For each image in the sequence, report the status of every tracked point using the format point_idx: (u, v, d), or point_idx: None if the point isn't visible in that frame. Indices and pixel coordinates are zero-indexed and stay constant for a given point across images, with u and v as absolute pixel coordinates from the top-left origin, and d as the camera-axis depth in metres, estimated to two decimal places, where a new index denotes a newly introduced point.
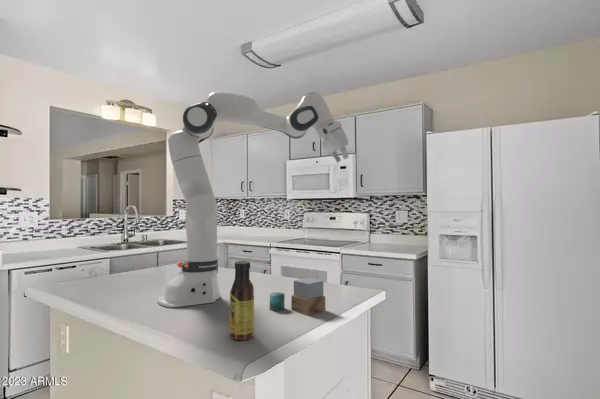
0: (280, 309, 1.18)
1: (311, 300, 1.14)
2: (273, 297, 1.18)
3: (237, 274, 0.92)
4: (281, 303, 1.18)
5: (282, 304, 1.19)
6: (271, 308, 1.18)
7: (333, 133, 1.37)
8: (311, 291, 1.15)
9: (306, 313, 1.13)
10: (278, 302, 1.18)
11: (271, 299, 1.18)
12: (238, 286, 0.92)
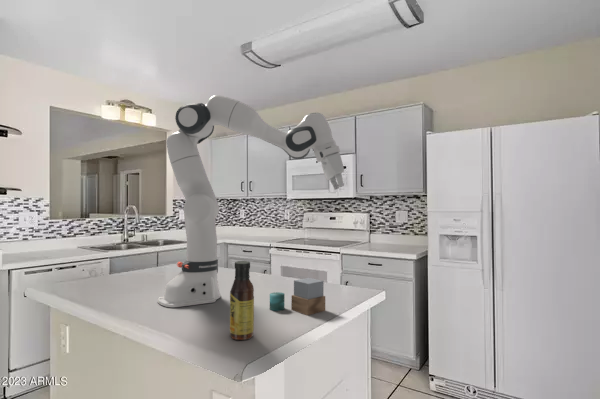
0: (280, 309, 1.18)
1: (311, 300, 1.14)
2: (273, 297, 1.18)
3: (237, 274, 0.92)
4: (281, 303, 1.18)
5: (282, 304, 1.19)
6: (271, 308, 1.18)
7: (328, 157, 1.26)
8: (311, 291, 1.15)
9: (306, 313, 1.13)
10: (278, 302, 1.18)
11: (271, 299, 1.18)
12: (238, 286, 0.92)
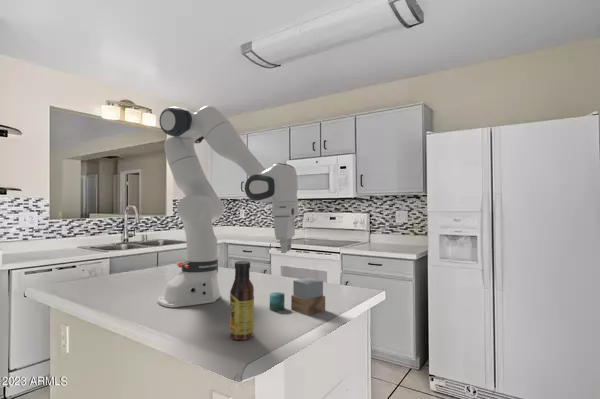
0: (280, 309, 1.18)
1: (311, 300, 1.14)
2: (273, 297, 1.18)
3: (237, 274, 0.92)
4: (281, 303, 1.18)
5: (282, 304, 1.19)
6: (271, 308, 1.18)
7: (275, 219, 1.12)
8: (310, 291, 1.15)
9: (306, 313, 1.13)
10: (278, 302, 1.18)
11: (271, 299, 1.18)
12: (238, 286, 0.92)
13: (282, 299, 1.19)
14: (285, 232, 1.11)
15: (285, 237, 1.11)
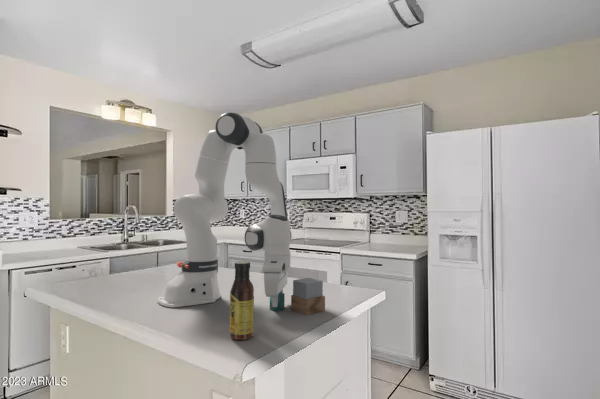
0: (280, 309, 1.18)
1: (311, 300, 1.14)
2: None
3: (237, 274, 0.92)
4: (281, 302, 1.18)
5: (282, 304, 1.19)
6: (271, 308, 1.18)
7: (265, 276, 1.12)
8: (310, 291, 1.15)
9: (306, 313, 1.14)
10: (278, 302, 1.18)
11: (271, 299, 1.19)
12: (238, 286, 0.92)
13: (282, 299, 1.19)
14: (275, 290, 1.10)
15: (275, 295, 1.10)
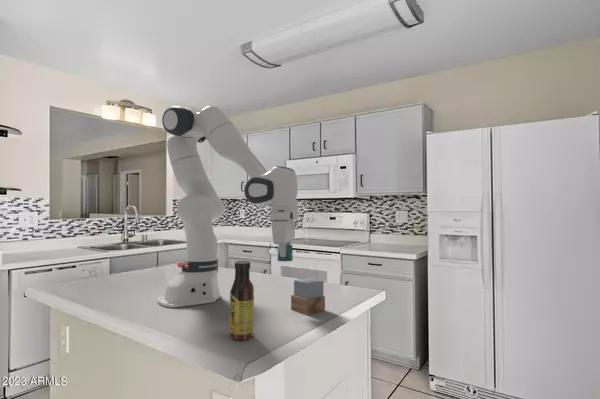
0: (288, 259, 1.18)
1: (310, 300, 1.14)
2: None
3: (237, 274, 0.92)
4: (289, 253, 1.18)
5: (290, 255, 1.18)
6: (279, 259, 1.18)
7: (273, 223, 1.11)
8: (311, 291, 1.15)
9: (305, 313, 1.14)
10: (286, 252, 1.17)
11: (279, 250, 1.18)
12: (238, 286, 0.92)
13: (290, 250, 1.18)
14: (283, 237, 1.10)
15: (283, 242, 1.10)
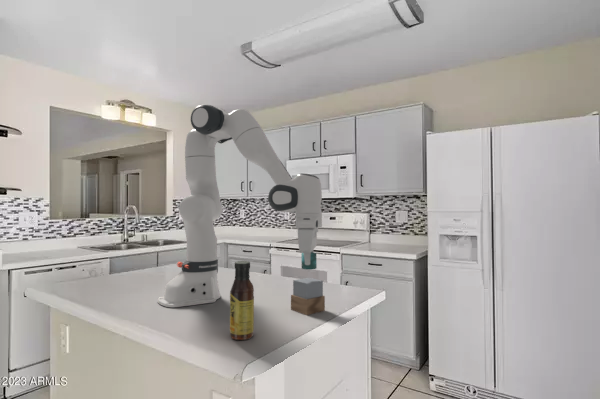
0: (313, 267, 1.17)
1: (310, 300, 1.14)
2: None
3: (237, 274, 0.92)
4: (314, 261, 1.17)
5: (314, 263, 1.17)
6: (303, 267, 1.17)
7: (299, 232, 1.10)
8: (310, 291, 1.15)
9: (305, 313, 1.14)
10: None
11: (303, 258, 1.17)
12: (238, 286, 0.92)
13: (314, 258, 1.17)
14: (309, 245, 1.09)
15: (309, 250, 1.09)
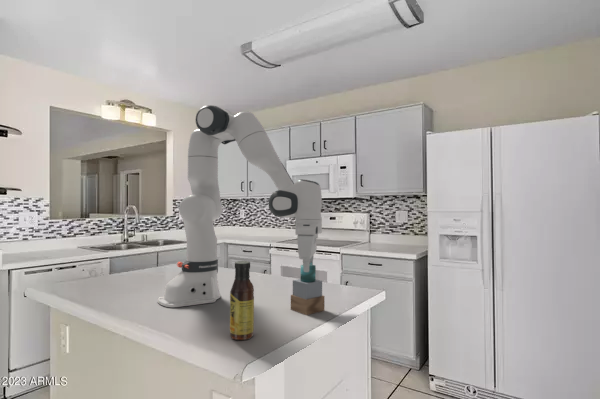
0: (312, 280, 1.17)
1: (310, 300, 1.15)
2: None
3: (237, 274, 0.92)
4: (313, 274, 1.17)
5: (314, 275, 1.17)
6: (302, 279, 1.17)
7: (299, 238, 1.10)
8: (310, 291, 1.15)
9: (305, 313, 1.14)
10: (310, 273, 1.16)
11: (302, 270, 1.17)
12: (238, 286, 0.92)
13: (313, 270, 1.17)
14: (309, 252, 1.09)
15: (309, 257, 1.09)
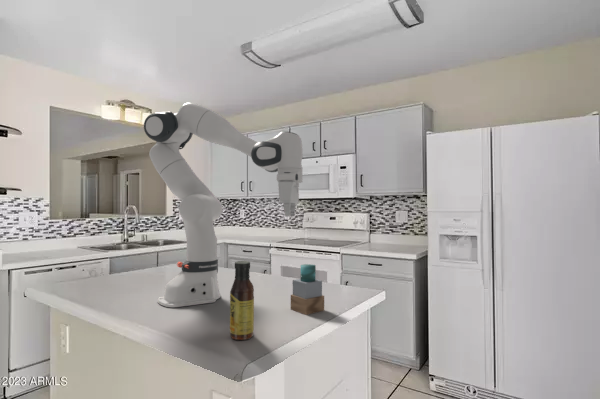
0: (311, 280, 1.17)
1: (310, 299, 1.15)
2: (304, 268, 1.17)
3: (237, 274, 0.92)
4: (312, 274, 1.17)
5: (313, 275, 1.18)
6: (302, 279, 1.17)
7: (280, 183, 1.18)
8: (309, 291, 1.15)
9: (305, 312, 1.14)
10: (309, 273, 1.17)
11: (302, 270, 1.18)
12: (238, 286, 0.92)
13: (313, 270, 1.18)
14: (289, 195, 1.17)
15: (289, 200, 1.17)
